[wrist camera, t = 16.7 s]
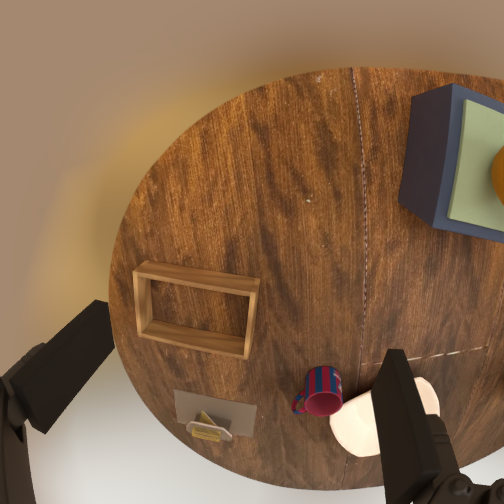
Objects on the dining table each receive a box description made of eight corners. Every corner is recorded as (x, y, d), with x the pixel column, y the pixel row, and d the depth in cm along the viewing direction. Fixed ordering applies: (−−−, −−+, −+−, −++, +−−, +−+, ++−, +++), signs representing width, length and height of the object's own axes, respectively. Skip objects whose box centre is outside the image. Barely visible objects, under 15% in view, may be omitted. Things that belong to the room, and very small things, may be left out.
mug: (346, 383, 55) (348, 408, 49) (299, 400, 58) (298, 425, 52) (332, 360, 54) (333, 386, 48) (283, 379, 57) (280, 404, 51)
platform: (173, 388, 62) (162, 409, 56) (257, 405, 60) (252, 428, 54) (177, 422, 67) (168, 442, 61) (252, 437, 65) (247, 459, 59)
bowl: (352, 446, 62) (353, 463, 57) (316, 392, 57) (316, 411, 52) (439, 412, 55) (445, 429, 50) (421, 349, 51) (429, 366, 46)
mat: (463, 99, 25) (466, 99, 24) (543, 135, 24) (546, 135, 23) (446, 216, 30) (449, 218, 29) (525, 236, 28) (529, 238, 27)
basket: (146, 259, 53) (132, 270, 48) (260, 278, 51) (256, 292, 46) (149, 321, 57) (137, 336, 52) (252, 342, 55) (247, 360, 50)
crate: (411, 96, 38) (452, 82, 25) (497, 125, 36) (550, 127, 23) (397, 202, 43) (431, 227, 30) (481, 221, 41) (529, 250, 28)
